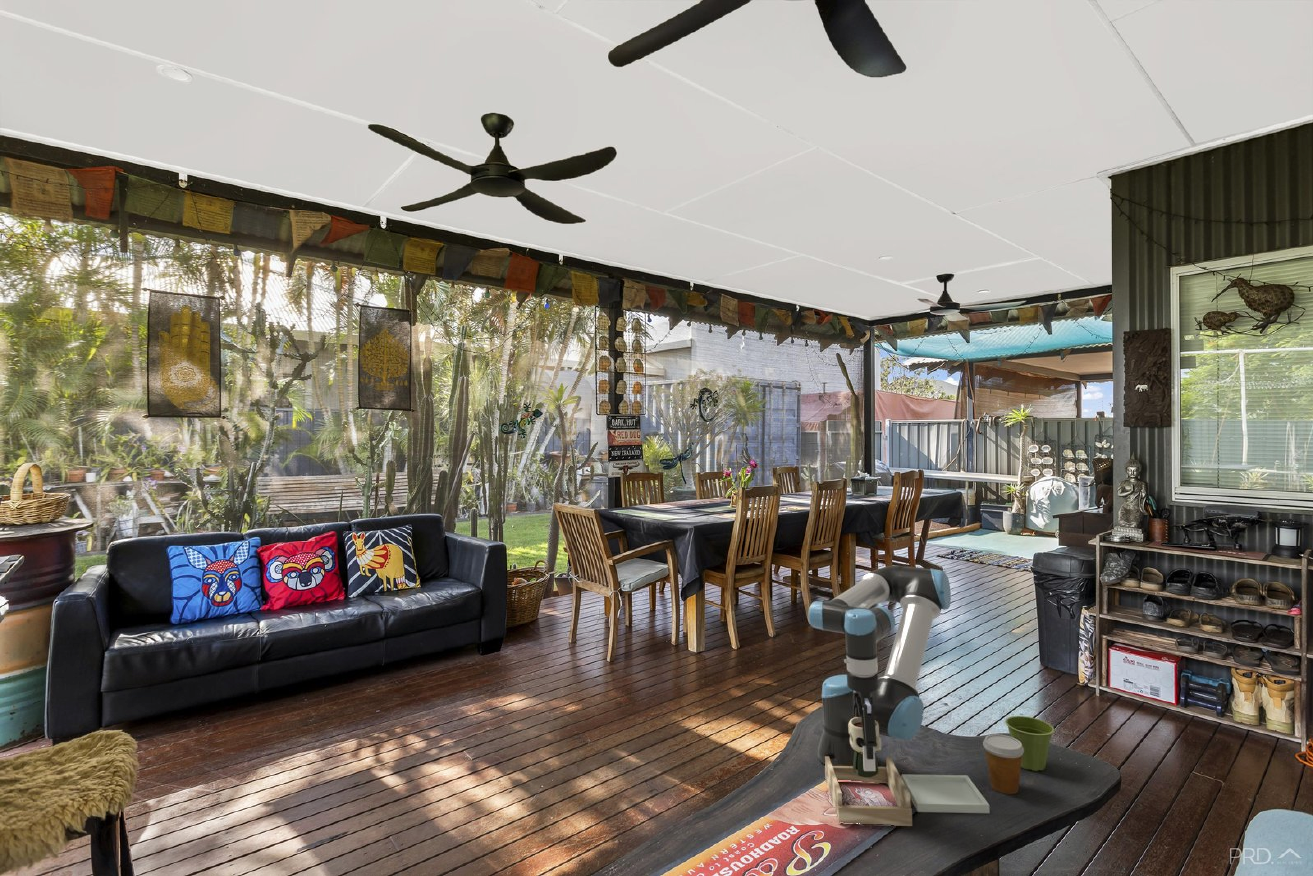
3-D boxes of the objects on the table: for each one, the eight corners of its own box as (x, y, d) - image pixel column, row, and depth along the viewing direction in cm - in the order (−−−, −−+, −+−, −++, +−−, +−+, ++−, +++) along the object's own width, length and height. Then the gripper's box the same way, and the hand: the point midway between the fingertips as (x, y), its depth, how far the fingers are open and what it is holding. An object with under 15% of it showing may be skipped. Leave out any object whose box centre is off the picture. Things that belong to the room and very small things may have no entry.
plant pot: (1045, 781, 173) (1043, 738, 173) (998, 764, 183) (997, 724, 183) (1062, 766, 181) (1061, 725, 181) (1017, 751, 190) (1016, 712, 190)
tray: (901, 782, 175) (901, 774, 175) (967, 783, 174) (967, 775, 174) (917, 811, 161) (917, 803, 161) (989, 813, 160) (989, 805, 160)
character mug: (840, 767, 170) (838, 717, 170) (860, 760, 173) (858, 711, 173) (871, 787, 160) (869, 734, 160) (892, 779, 163) (890, 727, 163)
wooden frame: (825, 780, 177) (824, 754, 177) (890, 781, 175) (889, 755, 175) (839, 824, 157) (838, 795, 157) (912, 826, 155) (911, 796, 155)
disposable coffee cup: (1031, 799, 165) (1029, 751, 165) (990, 796, 167) (988, 749, 167) (1018, 779, 174) (1016, 734, 174) (979, 777, 176) (978, 732, 176)
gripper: (839, 657, 177) (842, 740, 177) (855, 689, 156) (859, 783, 156) (867, 657, 177) (870, 741, 177) (888, 688, 155) (891, 783, 155)
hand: (865, 760), depth 166 cm, fingers closed on character mug, 9 cm apart
